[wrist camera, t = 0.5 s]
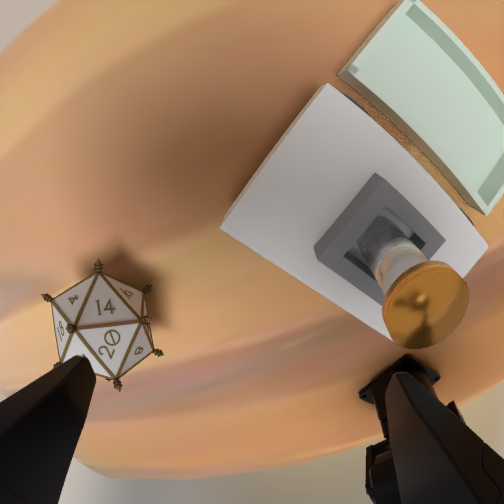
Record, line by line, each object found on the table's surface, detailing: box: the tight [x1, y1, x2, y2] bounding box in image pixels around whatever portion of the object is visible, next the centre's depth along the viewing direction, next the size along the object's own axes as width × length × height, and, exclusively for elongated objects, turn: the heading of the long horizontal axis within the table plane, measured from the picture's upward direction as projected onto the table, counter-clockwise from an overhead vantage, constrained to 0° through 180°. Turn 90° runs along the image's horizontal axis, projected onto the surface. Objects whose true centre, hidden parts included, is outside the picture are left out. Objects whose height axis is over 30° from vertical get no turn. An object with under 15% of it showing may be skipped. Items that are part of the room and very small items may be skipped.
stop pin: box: [357, 216, 469, 349], centre depth 13 cm, size 3×3×7 cm
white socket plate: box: [219, 83, 489, 342], centre depth 17 cm, size 14×10×6 cm
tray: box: [337, 0, 504, 217], centre depth 15 cm, size 13×7×2 cm, turn 55°
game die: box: [41, 259, 164, 392], centre depth 20 cm, size 9×8×10 cm
